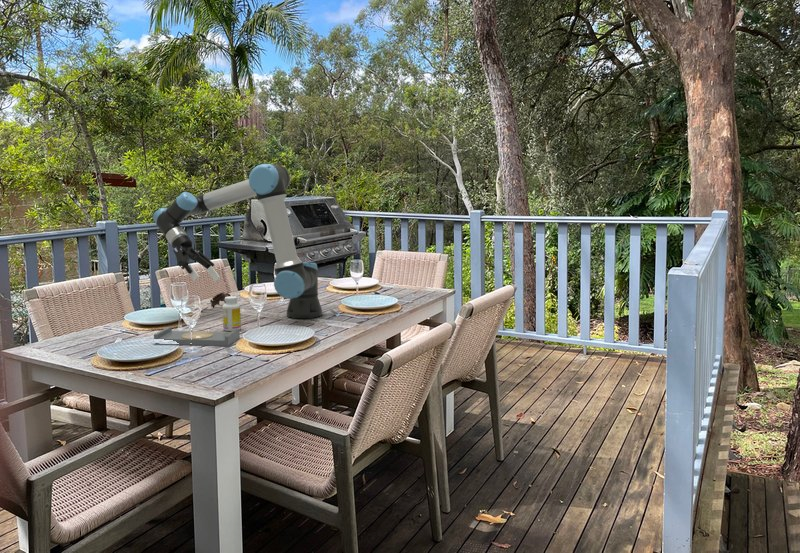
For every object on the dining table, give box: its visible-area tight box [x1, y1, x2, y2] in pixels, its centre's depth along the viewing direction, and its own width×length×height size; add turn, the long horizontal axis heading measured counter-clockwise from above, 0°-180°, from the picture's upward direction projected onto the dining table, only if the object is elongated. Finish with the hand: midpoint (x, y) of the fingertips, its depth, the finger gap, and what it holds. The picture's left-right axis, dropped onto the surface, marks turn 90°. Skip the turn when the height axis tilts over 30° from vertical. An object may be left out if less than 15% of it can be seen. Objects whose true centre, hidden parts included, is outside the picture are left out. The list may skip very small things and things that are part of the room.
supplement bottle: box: [221, 295, 242, 332], centre depth 249 cm, size 7×7×13 cm
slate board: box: [153, 326, 241, 347], centre depth 233 cm, size 27×12×4 cm, turn 85°
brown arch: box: [209, 291, 232, 309], centre depth 291 cm, size 12×10×8 cm
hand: (207, 279), depth 259 cm, fingers open, 13 cm apart
